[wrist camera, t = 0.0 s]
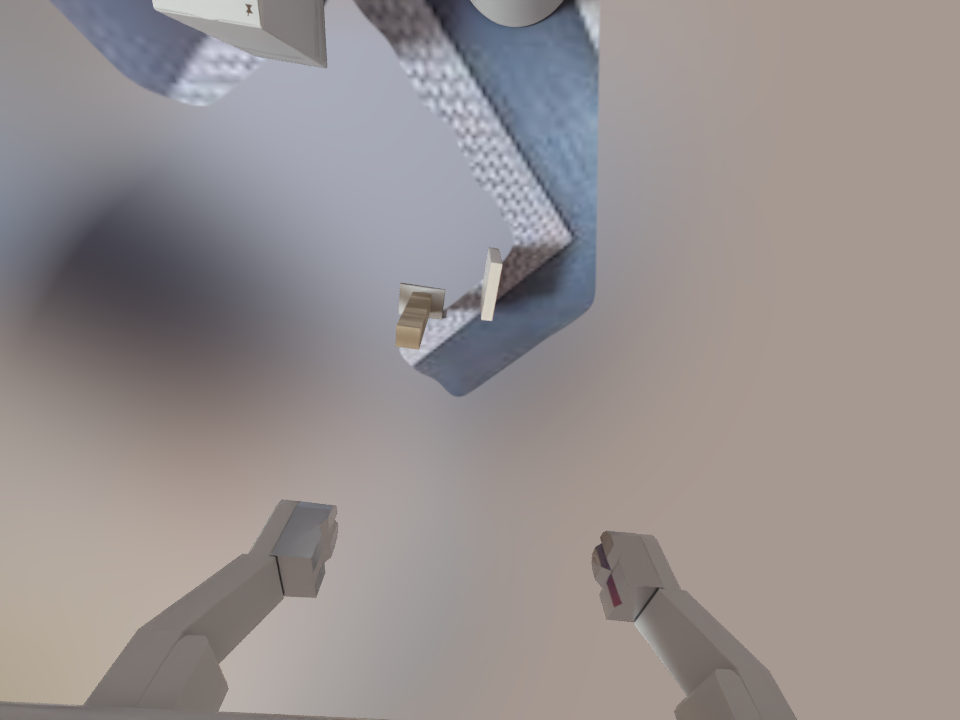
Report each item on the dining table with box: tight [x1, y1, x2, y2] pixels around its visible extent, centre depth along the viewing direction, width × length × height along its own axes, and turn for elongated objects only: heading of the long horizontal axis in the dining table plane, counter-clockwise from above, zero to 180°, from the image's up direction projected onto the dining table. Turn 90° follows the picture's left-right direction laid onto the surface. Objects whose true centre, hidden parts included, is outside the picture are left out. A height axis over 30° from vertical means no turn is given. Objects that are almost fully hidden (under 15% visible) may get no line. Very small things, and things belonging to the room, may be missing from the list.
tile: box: [481, 248, 503, 321], centre depth 52 cm, size 8×2×9 cm, turn 171°
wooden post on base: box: [396, 283, 445, 349], centre depth 52 cm, size 5×7×14 cm
